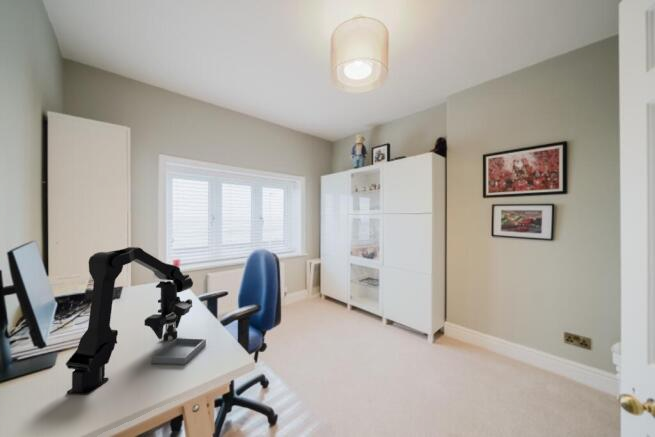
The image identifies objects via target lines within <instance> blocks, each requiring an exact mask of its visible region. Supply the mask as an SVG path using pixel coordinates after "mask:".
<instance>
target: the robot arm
mask: <svg viewBox="0 0 655 437" xmlns="http://www.w3.org/2000/svg"><path fill="white" fill-rule="evenodd" d="M132 262H135V263H137V264H139V265H141V266H143V267H144V268H146V269H148V270H150V271H152V272H153V274H154V276H155V277H157V279H159V280H160V281H159V282H158V284H157V285H155V288H156V289H160V299H157V303H159V304H160V308H159V309H158V310H157V313H158V314H151V315H150V316H148V317H146V318H145V319H144V326H145V327H149V328H151V330H152V331H153V333H154V334H155V336H156V337H157V339H158V340H159V339H160V340H161V339H163V338H162V336H163V335H164V334H163V333H164V327H165V325H166V323H167V322H165V321H166V317H167V316H169V315H170V314H176V315H178V320H177V321H176V329H178V328H179V325H180V322H181V319H182V317H183V316H185V315H186V314H187V313H189V312H190V310H191V308H193V300H192V299H191V298H188V299H186V300H181V298H180V296H178V293H182V292H184V291H187V290H190V289H192V287H193V285H194V281H193V279H192V278H191V277H190V274H186V273H185V274H183V273H182V272H181V269H180V267H179V266H177V265H174V264H170V263H166V262H163V261H162V260H160V259H158V258H157V257H155V256H154V255H152V254H150V253H148V252H146V251H145V250H144V249H143V248H141V247H139V246H138V247H137V246H136V247H135V246H132V247H131V246H130V247H129V246H128V247H125V248H122V249H117V250H111V251H100V252H99V251H98V252H96V253H94V254H93V255H91V256H90V257H89V259H88V273H89V275H90V276H91V279H92V280H93V286H92V296H91V302H90V311H89V317H88V326H87V330H86V331H85V332H84V334H83V335H82V336H80V339H79V342H78V345H77V349H76V351H75V352H74V353H73V354H72V355H71V356H70V357H69V358H68V360H67V361H66V362H65V365H66V367H67V369H69V370H73V371H72V373H71V388H70V389H68V390H67V391H66V394H68V395H89V394H90V393H92V392H93V391H95V390H96V389H98V388H99V387H100V386H102V385H103V384H104V383H106V382H107V381H109V378H110V377H105V375H106V367H105V365H107V364H109V362H110V359H111V357H112V353H113V351H114V350H115V346H116V345H117V344H118V341H117V340H118V339H117V338H118V335H119V331H118V330H117V329H112V328H111V319H112V308H113V302H114V300H113V299H114V292H115V285H116V284H115V283H116V280H117V278H118V277H119V275H120V274H121V273H122V271H123V268H124V266H125V265H129V264H130V263H132ZM164 280H165V281H164ZM159 313H160V314H159ZM173 325H174V323H173Z"/></svg>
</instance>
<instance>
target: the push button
mask: <svg viewBox="0 0 655 437" xmlns="http://www.w3.org/2000/svg"><path fill="white" fill-rule="evenodd" d="M177 320H178V315H176V314H170V315H169V316H167V317H166V321H165V322H167V323H166V324H165V325H164V327H165V328H164V329H165V331H164V332H163V333H164V334H163V336H162V339H158V341H164V342H166V341H171V340H172V341H173V340H175V339H176V338H178V330H177V328H176V321H177ZM173 323H174V324H173Z"/></svg>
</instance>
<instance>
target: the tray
mask: <svg viewBox="0 0 655 437" xmlns="http://www.w3.org/2000/svg"><path fill="white" fill-rule="evenodd" d="M206 346H207V338H193V337H192V338H190V337H189V338H188V337H187V338H186V337H177V338H176V339H175V340H174V339H173V340H172V341H171V342H169V343H168V344H167V345H165V346H164V347H162V349H160V350H159V351H157V352H155V353H154V354H153V355H152V356H151V357H150V361H151V362H150V364H151V365H163V366H164V365H167V366H169V365H171V366H185V365H187V364H188V363H189V362H190V360H192V359H193V358H195V356H196V355H197V354H198V353H199V352H201V350H203V348H204V347H206Z"/></svg>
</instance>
